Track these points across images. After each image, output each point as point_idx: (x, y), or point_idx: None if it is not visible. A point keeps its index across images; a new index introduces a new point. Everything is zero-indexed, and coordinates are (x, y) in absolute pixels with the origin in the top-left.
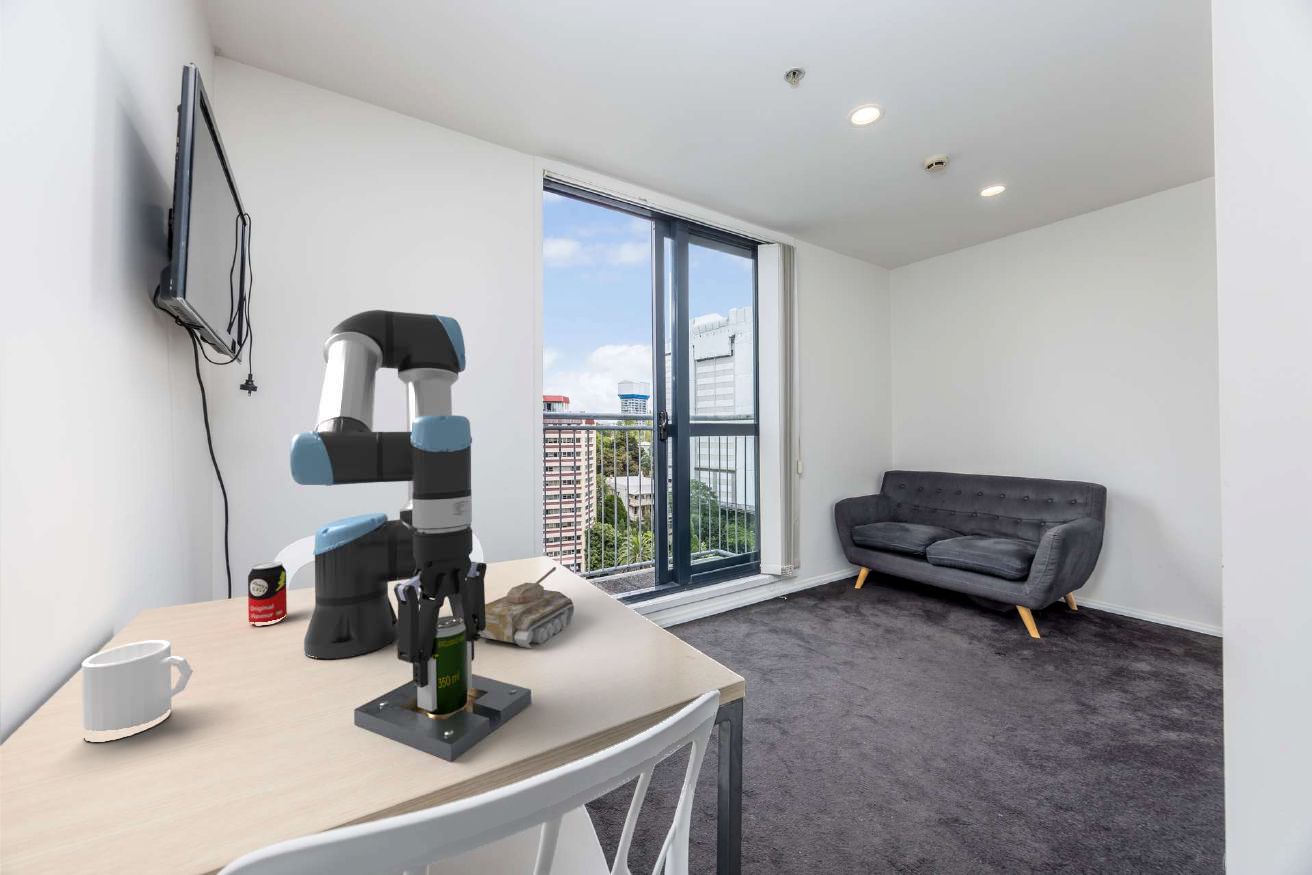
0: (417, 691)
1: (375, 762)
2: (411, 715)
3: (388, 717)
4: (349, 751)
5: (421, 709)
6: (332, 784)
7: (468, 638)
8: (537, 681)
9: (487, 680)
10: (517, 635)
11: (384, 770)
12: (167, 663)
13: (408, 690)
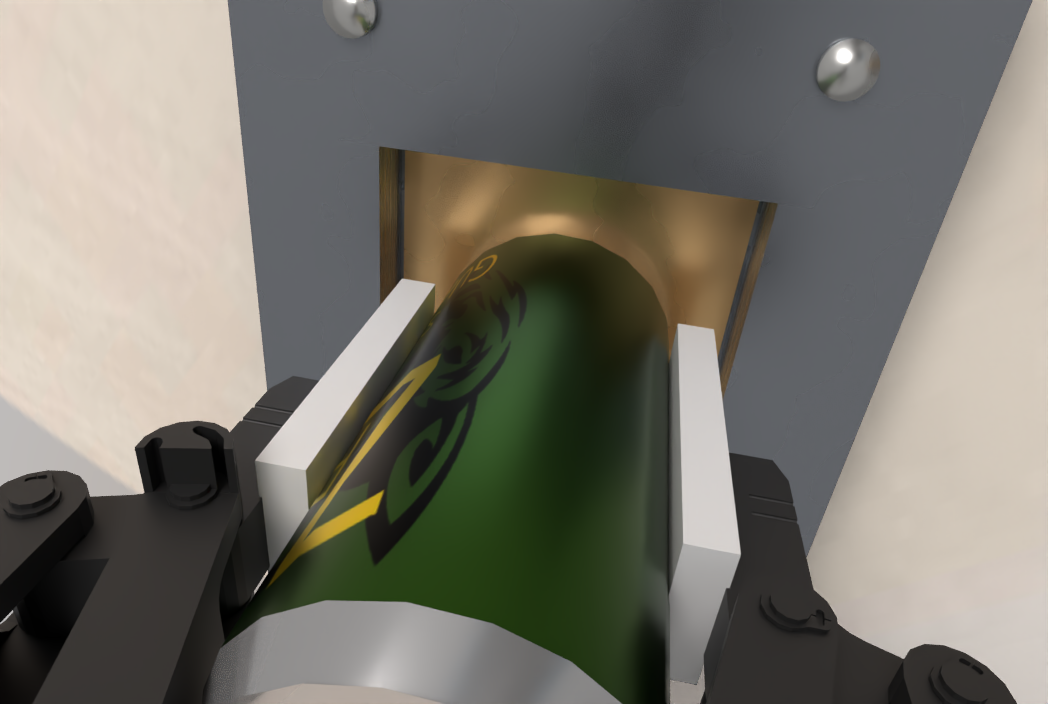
0: (368, 320)
1: (166, 276)
2: (347, 287)
3: (273, 178)
4: (133, 90)
5: (510, 191)
6: (10, 224)
7: (705, 686)
8: (994, 565)
9: (821, 446)
10: None
11: (163, 345)
12: None
13: (562, 15)
